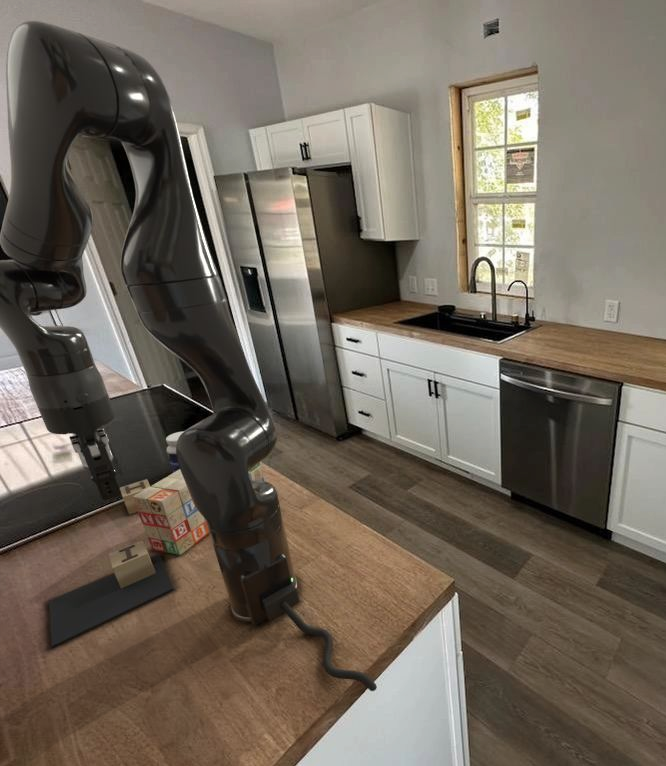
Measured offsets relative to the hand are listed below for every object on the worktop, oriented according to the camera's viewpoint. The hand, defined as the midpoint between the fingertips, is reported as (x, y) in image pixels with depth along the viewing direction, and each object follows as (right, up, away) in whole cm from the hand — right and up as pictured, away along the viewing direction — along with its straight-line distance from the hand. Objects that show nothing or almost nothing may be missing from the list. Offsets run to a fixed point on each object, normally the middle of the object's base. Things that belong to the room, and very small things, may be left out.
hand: (107, 486), depth 68 cm
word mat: (+2, -18, -1) cm, 18 cm away
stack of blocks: (+5, -11, +18) cm, 21 cm away
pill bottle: (-12, -5, +32) cm, 35 cm away
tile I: (+2, -16, +3) cm, 16 cm away
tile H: (-13, -9, +20) cm, 26 cm away
